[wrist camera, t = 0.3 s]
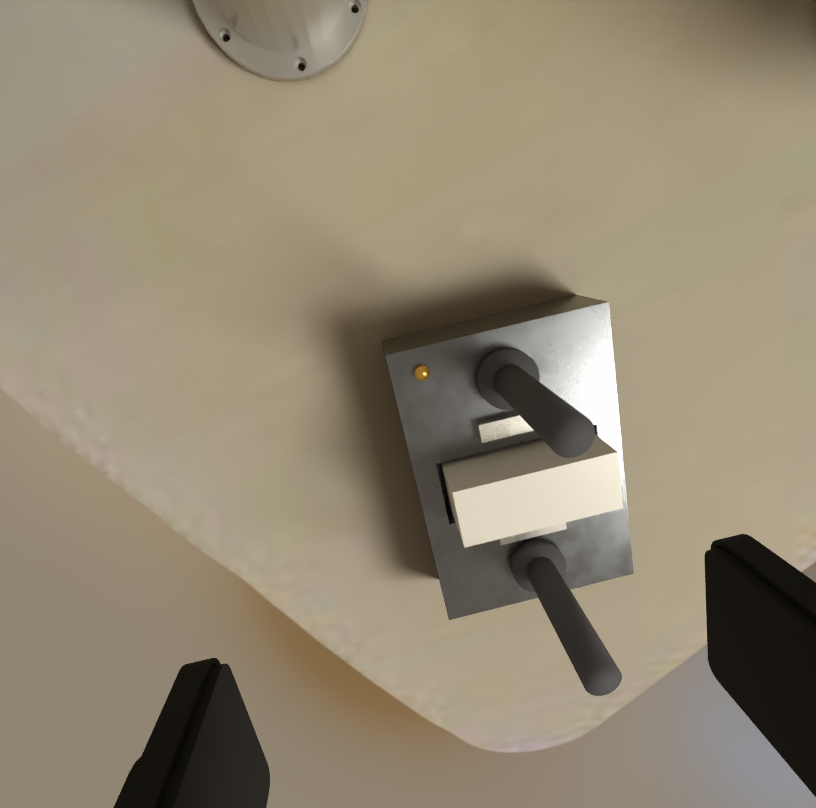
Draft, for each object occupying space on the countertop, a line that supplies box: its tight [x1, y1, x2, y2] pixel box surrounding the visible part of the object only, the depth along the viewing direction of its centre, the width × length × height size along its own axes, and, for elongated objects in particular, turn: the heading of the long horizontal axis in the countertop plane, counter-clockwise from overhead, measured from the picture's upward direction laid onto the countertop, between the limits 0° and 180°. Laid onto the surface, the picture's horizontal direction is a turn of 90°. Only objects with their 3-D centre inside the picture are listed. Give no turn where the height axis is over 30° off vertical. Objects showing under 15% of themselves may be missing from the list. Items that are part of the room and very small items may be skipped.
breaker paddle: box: [440, 434, 623, 548], centre depth 42 cm, size 5×13×7 cm, turn 103°
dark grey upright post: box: [476, 347, 595, 458], centre depth 34 cm, size 5×5×13 cm
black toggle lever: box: [510, 539, 622, 696], centre depth 39 cm, size 5×5×13 cm
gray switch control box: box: [382, 295, 633, 620], centre depth 45 cm, size 26×18×7 cm
